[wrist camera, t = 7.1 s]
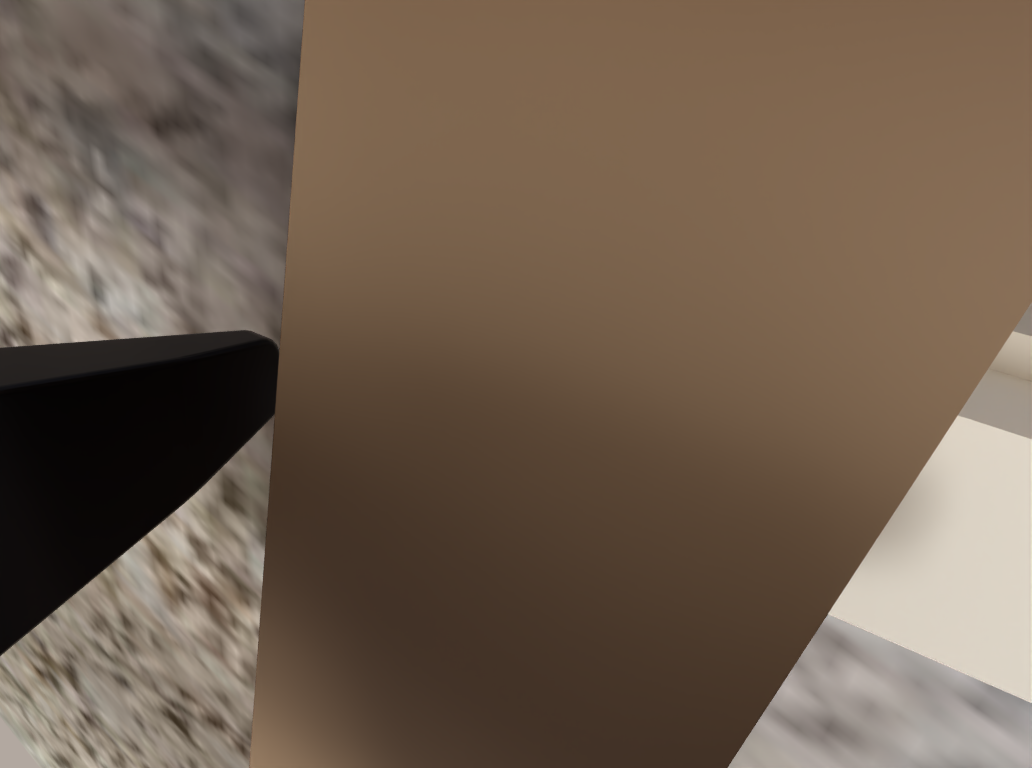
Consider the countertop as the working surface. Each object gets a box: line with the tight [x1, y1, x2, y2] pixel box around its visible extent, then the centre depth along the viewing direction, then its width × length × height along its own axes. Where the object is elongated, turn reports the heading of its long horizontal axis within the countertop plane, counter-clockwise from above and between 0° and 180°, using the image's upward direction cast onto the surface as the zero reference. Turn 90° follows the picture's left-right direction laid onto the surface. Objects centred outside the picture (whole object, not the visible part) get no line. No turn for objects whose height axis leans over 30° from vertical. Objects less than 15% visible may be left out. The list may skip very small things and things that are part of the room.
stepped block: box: [828, 303, 1032, 703], centre depth 11 cm, size 4×11×3 cm, turn 83°
